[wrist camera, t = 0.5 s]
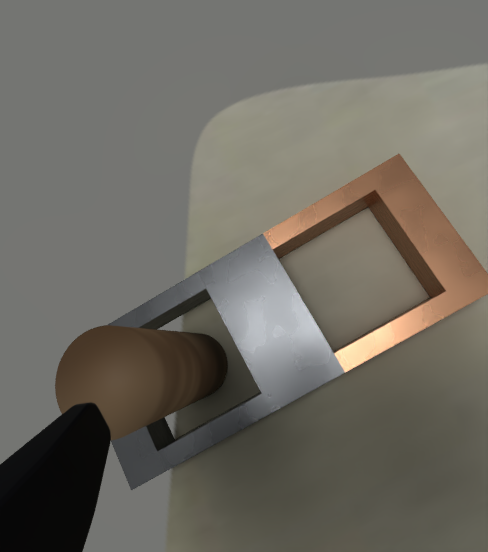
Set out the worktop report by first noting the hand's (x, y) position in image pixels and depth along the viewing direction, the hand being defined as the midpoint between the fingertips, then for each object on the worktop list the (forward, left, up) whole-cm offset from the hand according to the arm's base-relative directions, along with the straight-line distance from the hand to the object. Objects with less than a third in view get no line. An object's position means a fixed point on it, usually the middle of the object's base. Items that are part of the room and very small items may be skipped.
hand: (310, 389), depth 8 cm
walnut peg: (+3, +6, -14) cm, 15 cm away
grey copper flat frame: (+3, +1, -14) cm, 14 cm away
